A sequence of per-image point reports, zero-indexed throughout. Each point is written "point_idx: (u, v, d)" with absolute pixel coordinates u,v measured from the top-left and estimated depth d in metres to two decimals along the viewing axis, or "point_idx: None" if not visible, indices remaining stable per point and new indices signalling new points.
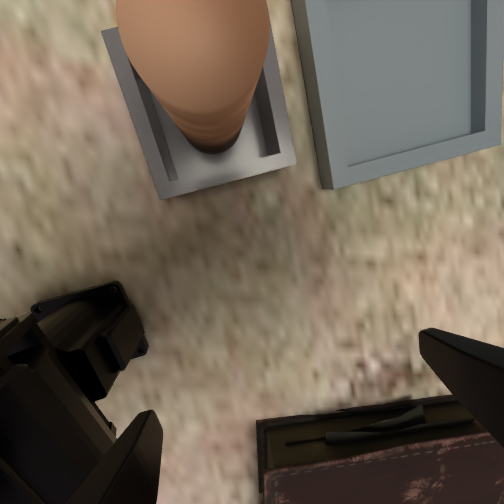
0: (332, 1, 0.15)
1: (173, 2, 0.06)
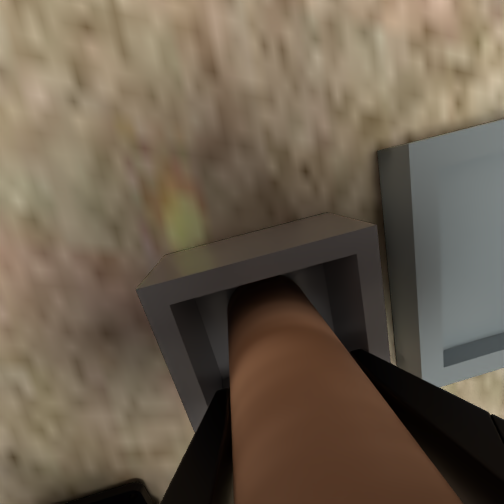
0: (438, 174, 0.11)
1: None
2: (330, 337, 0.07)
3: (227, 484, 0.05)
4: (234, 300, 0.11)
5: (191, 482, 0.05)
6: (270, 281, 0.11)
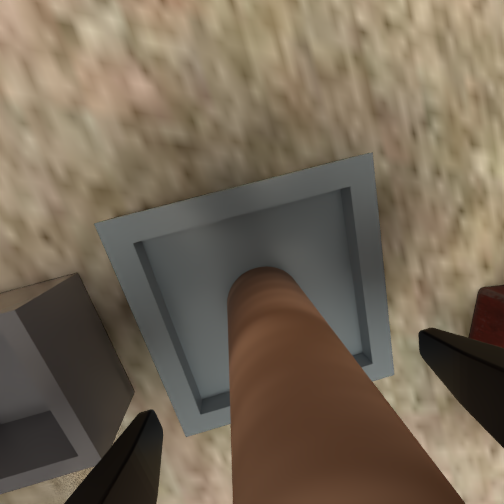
0: (161, 241, 0.12)
1: None
2: (318, 318, 0.08)
3: None
4: (233, 290, 0.12)
5: None
6: (266, 273, 0.12)
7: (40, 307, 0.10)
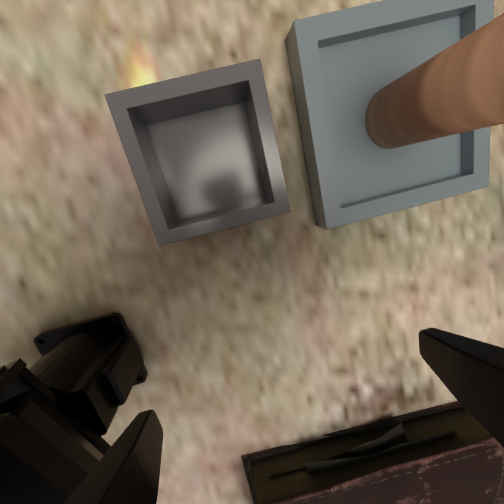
0: (326, 54, 0.15)
1: None
2: None
3: None
4: (379, 93, 0.16)
5: None
6: None
7: None
